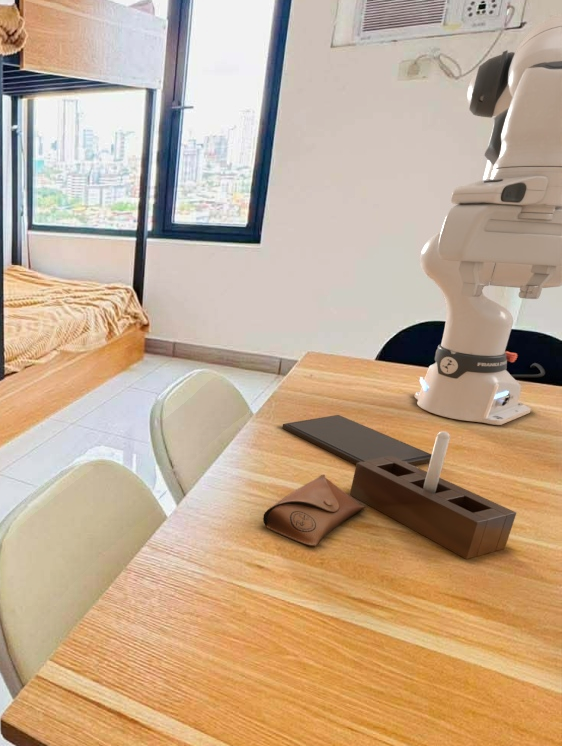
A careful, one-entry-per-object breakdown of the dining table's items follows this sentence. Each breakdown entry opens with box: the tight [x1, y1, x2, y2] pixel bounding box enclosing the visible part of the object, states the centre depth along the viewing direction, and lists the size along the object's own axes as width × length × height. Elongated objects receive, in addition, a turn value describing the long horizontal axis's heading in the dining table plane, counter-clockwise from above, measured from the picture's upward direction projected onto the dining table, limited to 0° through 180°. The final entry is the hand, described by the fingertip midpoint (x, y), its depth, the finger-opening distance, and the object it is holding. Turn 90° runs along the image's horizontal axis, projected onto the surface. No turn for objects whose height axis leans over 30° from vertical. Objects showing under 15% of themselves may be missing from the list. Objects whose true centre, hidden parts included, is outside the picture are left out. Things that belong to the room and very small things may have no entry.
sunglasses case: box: [262, 474, 366, 547], centre depth 98 cm, size 18×7×7 cm
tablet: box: [281, 414, 432, 466], centre depth 124 cm, size 15×22×1 cm
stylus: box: [423, 430, 451, 494], centre depth 95 cm, size 2×2×15 cm
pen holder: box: [349, 456, 517, 560], centre depth 97 cm, size 8×19×6 cm, turn 18°
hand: (499, 297), depth 87 cm, fingers open, 8 cm apart
